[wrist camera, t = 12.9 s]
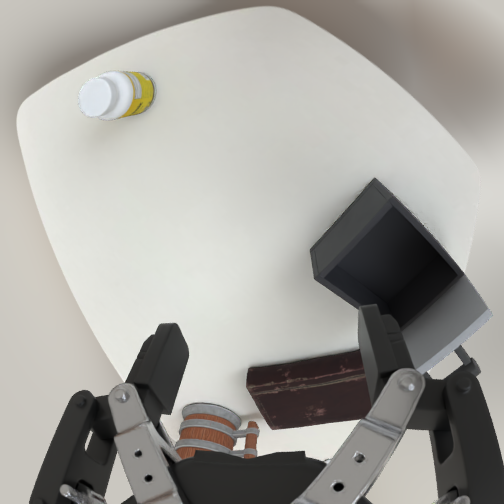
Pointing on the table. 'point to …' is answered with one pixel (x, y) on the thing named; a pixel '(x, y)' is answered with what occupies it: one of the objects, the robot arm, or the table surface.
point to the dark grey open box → (383, 258)
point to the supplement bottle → (116, 95)
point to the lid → (447, 328)
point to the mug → (214, 432)
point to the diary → (311, 391)
